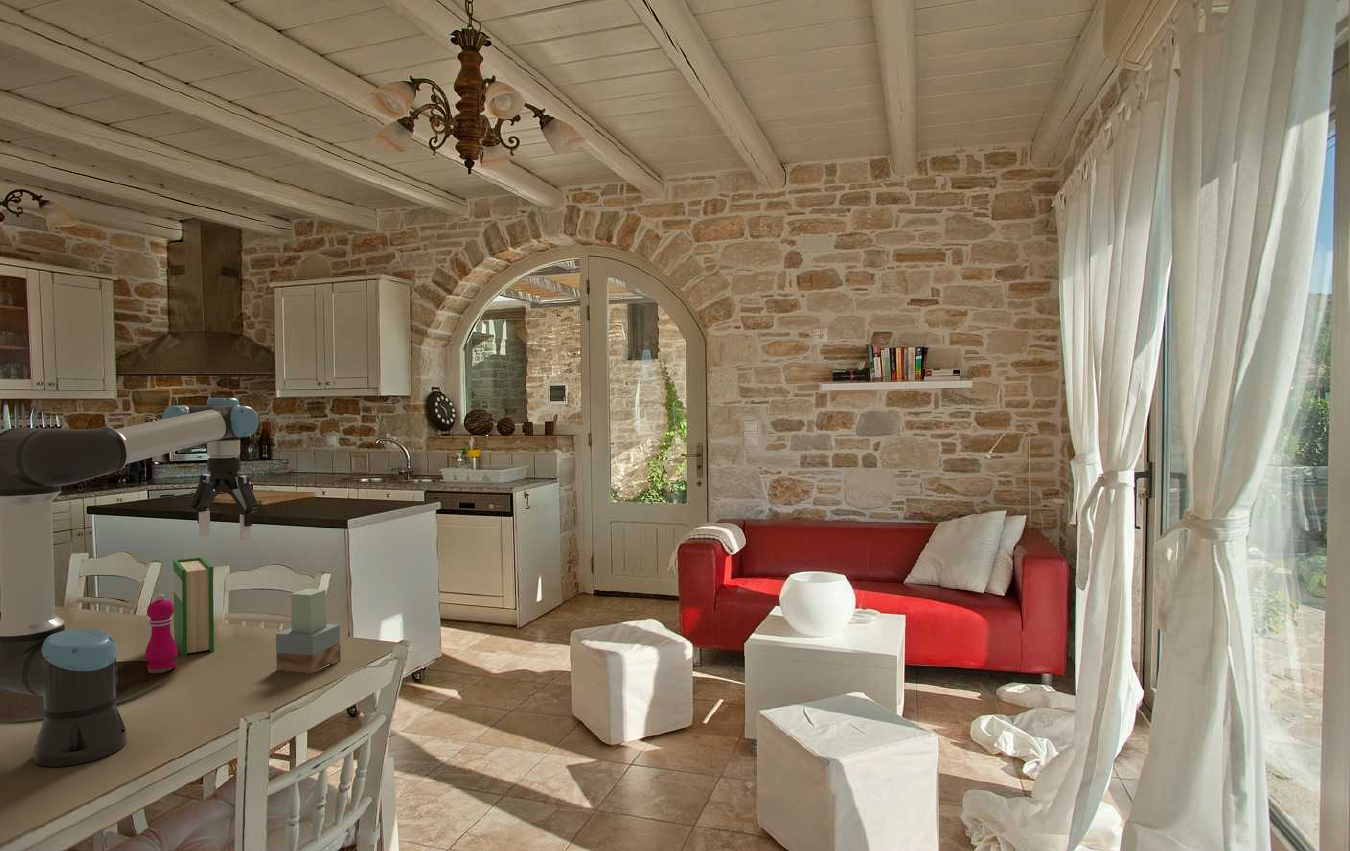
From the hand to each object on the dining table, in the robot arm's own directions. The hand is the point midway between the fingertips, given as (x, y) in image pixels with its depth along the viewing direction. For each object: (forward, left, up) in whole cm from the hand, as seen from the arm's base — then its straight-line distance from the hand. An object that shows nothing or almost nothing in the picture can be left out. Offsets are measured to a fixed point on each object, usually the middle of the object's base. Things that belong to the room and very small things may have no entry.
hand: (224, 537), depth 209 cm
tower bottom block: (+8, -19, -35) cm, 41 cm away
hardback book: (+12, +24, -35) cm, 44 cm away
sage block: (+9, -19, -25) cm, 32 cm away
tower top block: (+8, -19, -30) cm, 36 cm away
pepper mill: (-6, +15, -35) cm, 38 cm away
